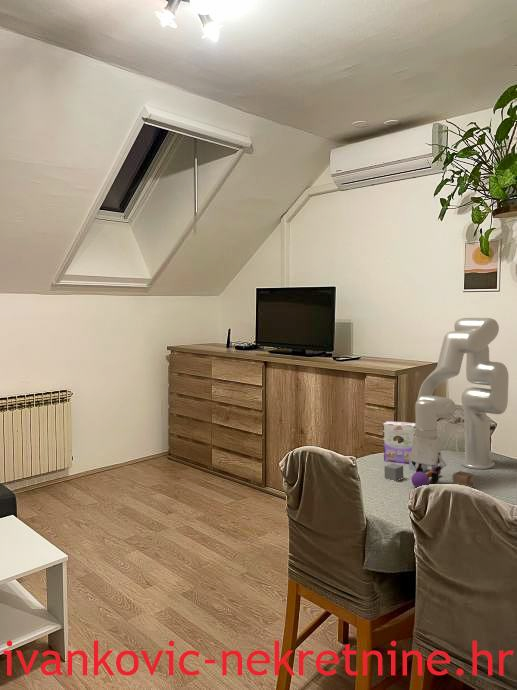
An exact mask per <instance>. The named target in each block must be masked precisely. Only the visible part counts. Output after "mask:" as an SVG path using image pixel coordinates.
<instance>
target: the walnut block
mask: <svg viewBox="0 0 517 690" xmlns="http://www.w3.org/2000/svg"><path fill="white" fill-rule="evenodd" d="M453 484H459V485H465V486H469V487H471V486H473V487H474V474H473V473H471V472H466V471H462V470H459V471H457V472H454V473H453V474H452V485H453Z"/></svg>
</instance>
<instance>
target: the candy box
mask: <svg viewBox="0 0 517 690" xmlns="http://www.w3.org/2000/svg"><path fill="white" fill-rule="evenodd" d="M414 428H416V422H406V421H391V420H389V421H388V420H387V421H385V422H384V423H382V439H383V462H389V461H391V463H399V462H401V463H400V464H409V456H410V455H411V454H412V444H413V438H414V436H415V435H416V432H414V431H413V429H414Z"/></svg>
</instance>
